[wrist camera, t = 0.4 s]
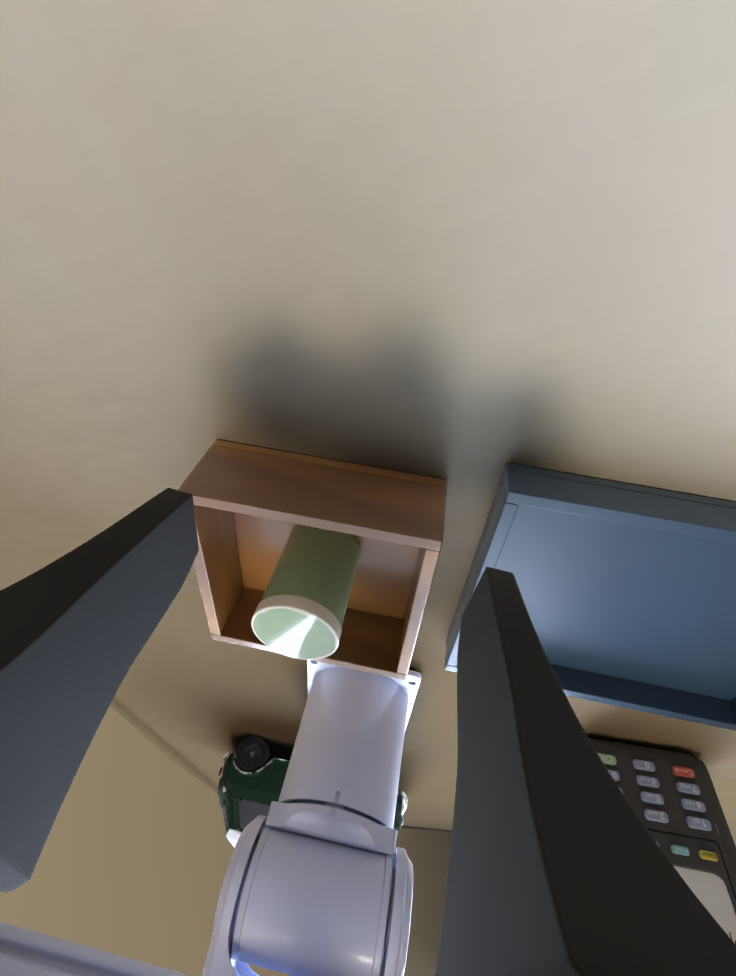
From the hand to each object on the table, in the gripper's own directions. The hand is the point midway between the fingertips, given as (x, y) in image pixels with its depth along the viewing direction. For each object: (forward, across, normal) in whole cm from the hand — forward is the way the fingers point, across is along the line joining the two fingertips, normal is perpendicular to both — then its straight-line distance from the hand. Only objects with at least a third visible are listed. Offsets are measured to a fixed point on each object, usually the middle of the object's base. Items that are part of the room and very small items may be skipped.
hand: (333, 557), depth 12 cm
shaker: (+9, +2, +10) cm, 14 cm away
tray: (+10, -15, +9) cm, 20 cm away
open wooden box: (+10, +2, +10) cm, 15 cm away
